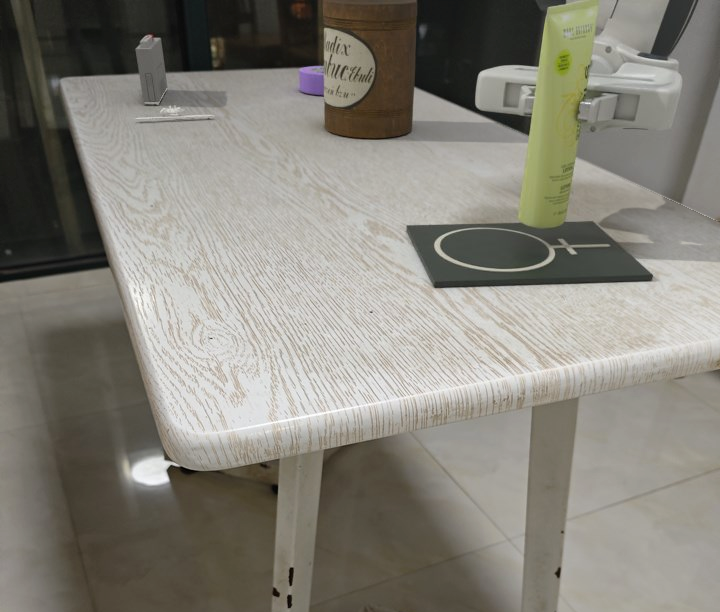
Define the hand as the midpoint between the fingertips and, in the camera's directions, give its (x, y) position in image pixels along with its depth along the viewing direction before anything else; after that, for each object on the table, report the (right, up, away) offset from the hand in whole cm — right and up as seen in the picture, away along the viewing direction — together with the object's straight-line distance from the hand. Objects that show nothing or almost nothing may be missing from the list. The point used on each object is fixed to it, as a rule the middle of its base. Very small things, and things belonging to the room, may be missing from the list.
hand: (556, 109), depth 67 cm
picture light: (-51, +28, +56) cm, 80 cm away
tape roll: (-25, +45, +78) cm, 94 cm away
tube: (0, -8, +8) cm, 11 cm away
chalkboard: (-2, -11, +8) cm, 14 cm away
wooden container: (-17, +24, +52) cm, 60 cm away
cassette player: (-58, +39, +70) cm, 99 cm away
